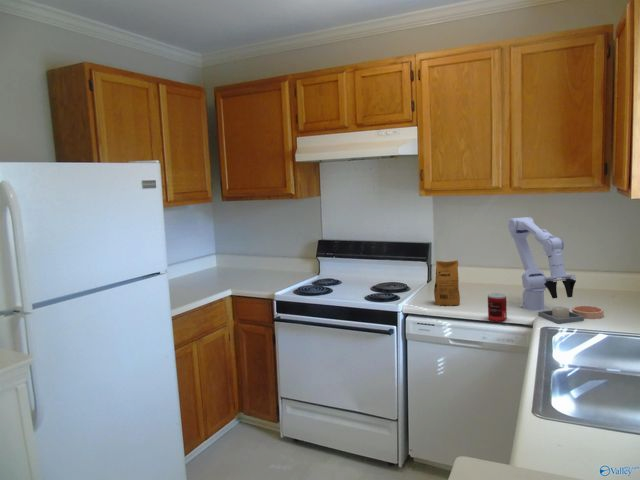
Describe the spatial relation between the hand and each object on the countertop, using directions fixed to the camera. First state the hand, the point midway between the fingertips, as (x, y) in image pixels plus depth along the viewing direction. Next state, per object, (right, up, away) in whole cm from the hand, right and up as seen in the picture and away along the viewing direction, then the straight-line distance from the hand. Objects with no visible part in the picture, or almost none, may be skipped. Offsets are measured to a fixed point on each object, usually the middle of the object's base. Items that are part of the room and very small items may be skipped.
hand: (562, 297), depth 203 cm
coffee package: (-38, -8, +39) cm, 55 cm away
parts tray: (0, -10, +2) cm, 10 cm away
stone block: (0, -9, +2) cm, 9 cm away
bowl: (+13, -9, +4) cm, 16 cm away
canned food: (-25, -11, +8) cm, 28 cm away
